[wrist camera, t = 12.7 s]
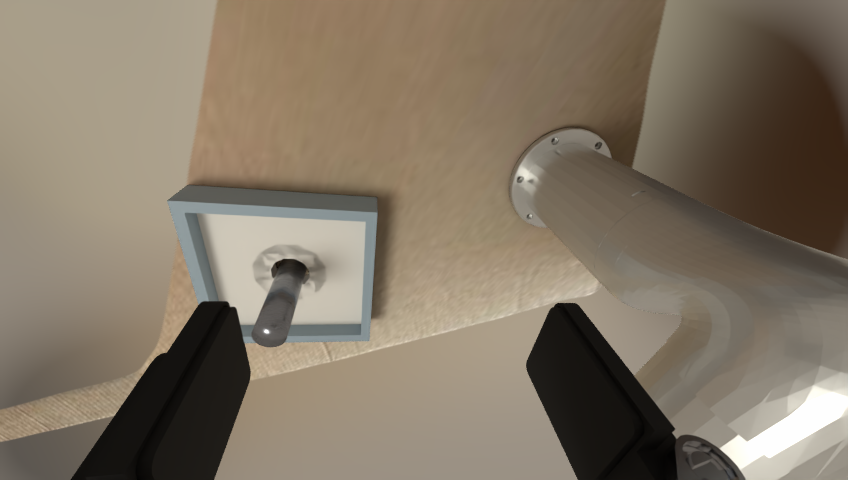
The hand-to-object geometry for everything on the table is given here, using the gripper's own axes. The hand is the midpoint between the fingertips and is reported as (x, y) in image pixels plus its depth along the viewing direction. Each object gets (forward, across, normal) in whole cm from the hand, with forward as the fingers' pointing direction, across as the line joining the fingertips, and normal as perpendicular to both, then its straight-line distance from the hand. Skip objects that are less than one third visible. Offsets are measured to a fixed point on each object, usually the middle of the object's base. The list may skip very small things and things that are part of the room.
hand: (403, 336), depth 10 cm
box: (+28, +10, +18) cm, 35 cm away
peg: (+28, +10, +18) cm, 35 cm away
